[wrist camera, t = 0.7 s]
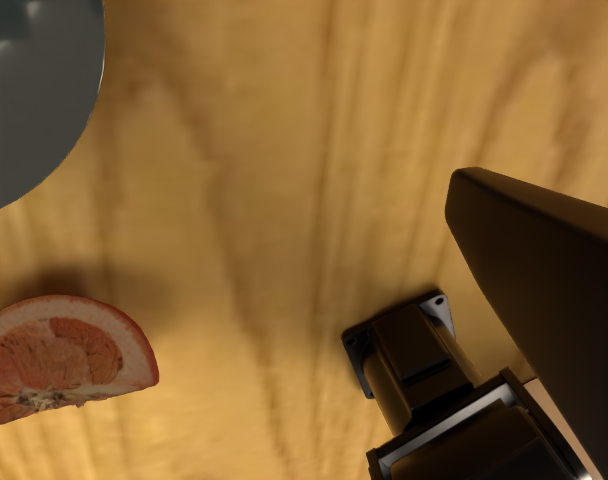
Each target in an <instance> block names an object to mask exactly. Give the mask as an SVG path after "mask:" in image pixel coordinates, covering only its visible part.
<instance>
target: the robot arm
mask: <svg viewBox="0 0 608 480" xmlns="http://www.w3.org/2000/svg"><path fill="white" fill-rule="evenodd" d="M445 218H446V222H447V224H448V226H449V228H450V230H451V232H452V234H453V236H454V238H455V240H456V242H457V244H458V246H459V248H460V250H461V252H462V254H463V256H464V258H465V260H466V262H467V264H468V266H469V268H470V270H471V272H472V274H473V276H474V278H475V280H476V282H477V284H478V286H479V287H480V289H481V291H482V292H483V294H484V296H485V297H486V299H487V300H488V302H489V303H490V305H491V307H492V308H493V310H494V311H495V313H496V314H497V316H498V317H499V319H500V320H501V322H502V324H503V325H504V327H505V328H506V330H507V331H508V333H509V334H510V336H511V337H512V339H513V341H514V342H515V344H516V345H517V347H518V348H519V350H520V351H521V353H522V354H523V356H524V358H525V359H526V361H527V362H528V364H529V365H530V367H531V368H532V370H533V371H534V373H535V375H536V376H537V378H538V379H539V381H540V382H541V384H542V385H543V387H544V388H545V390H546V392H547V393H548V395H549V396H550V398H551V399H552V401H553V402H554V404H555V405H556V407H557V409H558V410H559V412H560V413H561V415H562V416H563V418H564V419H565V421H566V422H567V424H568V426H569V427H570V429H571V430H572V432H573V433H574V435H575V436H576V438H577V439H578V441H579V443H580V444H581V446H582V447H583V449H584V450H585V452H586V453H587V455H588V456H589V458H590V460H591V461H592V463H593V464H594V466H595V467H596V469H597V470H598V472H599V473H600V475H601V477H602V478H603V480H608V208H605V207H602V206H599V205H596V204H592V203H589V202H586V201H583V200H580V199H577V198H574V197H571V196H567V195H564V194H561V193H558V192H555V191H552V190H549V189H546V188H542V187H539V186H536V185H533V184H530V183H527V182H524V181H520V180H517V179H514V178H511V177H508V176H505V175H502V174H499V173H495V172H492V171H489V170H486V169H483V168H480V167H468V168H461V169H457V170H455V171H454V172H453V173H452V175H451V179H450V184H449V189H448V194H447V200H446V205H445ZM349 339H350V340H349ZM341 341H342V343H343V345H344V348H345V350H346V352H347V355H348V357H349V359H350V362H351V364H352V366H353V369H354V371H355V373H356V375H357V378H358V380H359V382H360V385H361V387H362V389H363V392H364V394H365V396H366V398H368V399H373V398H375V399H376V401H377V403H378V405H379V407H380V409H381V411H382V413H383V415H384V417H385V420H386V422H387V424H388V426H389V428H390V430H391V432H392V434H393V436H394V438H393V439H391V440H389V441H388V442H386V443H385V444H383V445H381V446H380V447H378V448H373V449H371V450H370V451H368V452H366V456H367V459H368V463H369V466H370V467H369V468H368V470H369V473H370V476H371V480H592V478H591V476H590V474H589V473H588V471H587V469H586V468H585V466H584V465H583V463H582V462H581V460H580V459H579V457H578V456H577V454H576V453H575V451H574V450H573V449H572V447H571V446H570V444H569V443H568V442H567V440H566V439H565V437H564V436H563V435H562V433H561V432H560V431H559V429H558V428H557V427H556V425H555V424H554V423H553V421H552V420H551V419H550V418H549V416H548V415H547V414H546V413H545V411H544V410H543V409H542V408H541V407H540V405H539V404H538V403H537V402H536V400H535V399H534V398H533V397H532V396H531V394H530V393H529V392H528V391H527V389H526V388H525V387H524V386H523V385H522V383H521V382H520V381H519V380H518V378H517V377H516V376H515V375H514V373H513V372H512V371H511V370H510V369H509V367H508V366H507V367H505V368H504V369H502V370H501V371H499V374H497V375H496V376H494V377H493V378H491V379H489V380H488V381H486V382H485V381H484V380H483V378H482V377H481V376H480V374H479V373H478V371H477V370H476V368H475V367H474V365H473V364H472V363H471V361H470V360H469V358H468V357H467V355H466V354H465V352H464V351H463V350H462V348H461V347H460V345H459V344H458V342H457V341H456V337H455V332H454V328H453V323H452V318H451V314H450V309H449V305H448V300H447V297H446V295H445V294H444V293H443V291H441V290H437V291H434V292H432V293H430V294H427V295H425V296H423V297H421V298H419V299H416V300H414V301H412V302H410V303H408V304H405V305H403V306H401V307H399V308H397V309H395V310H392V311H390V312H388V313H386V314H384V315H381V316H379V317H377V318H375V319H373V320H371V321H368V322H366V323H364V324H362V325H360V326H357V327H355V328H353V329H351V330H349V331H347V332H345V333H344V334H343V335H342V337H341Z"/></svg>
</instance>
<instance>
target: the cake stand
mask: <svg viewBox="0 0 608 480" xmlns="http://www.w3.org/2000/svg"><path fill="white" fill-rule="evenodd" d="M105 51H106V21H105V5H104V0H0V209H1V208H3V207H5V206H6V205H8V204H10V203H12V202H14V201H16V200H18V199H19V198H21V197H22V196H24V195H25V194H27V193H28V192H29V191H31V190H32V189H34V188H35V187H37V186H38V185H39V184H41V183H42V182H43V181H44V180H45V179H46V178H47V177H48V176H49V175H50V174H51V173H52V172H53V171H54V170H56V169H57V168H58V167H59V166H60V164H61V163H62V162H63V160H64V159H65V158H66V157H67V155H68V154H69V153H70V152H71V150H72V149H73V148H74V147H75V145H76V143H77V142H78V140H79V138H80V136H81V135H82V133H83V131H84V129H85V128H86V126H87V124H88V122H89V120H90V117H91V114H92V112H93V109H94V107H95V104H96V101H97V99H98V95H99V91H100V86H101V82H102V77H103V73H104V65H105Z"/></svg>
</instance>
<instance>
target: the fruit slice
mask: <svg viewBox="0 0 608 480" xmlns="http://www.w3.org/2000/svg"><path fill="white" fill-rule="evenodd" d="M158 382H159V371H158V366H157V362H156V358H155V355H154V352H153V350H152V348H151V346H150V344H149V341H148V340H147V338H146V336H145V335H144V333H143V331H142V329H141V328H140V327H139V325H138V324H137V323H136V322H134V321H133V320H132V319H131V318H130V317H129V316H128V315H126V314H125V313H124V312H122V311H121V310H119V309H117V308H116V307H113V306H111V305H109V304H106V303H103V302H100V301H97V300H93V299H90V298H86V297H81V296H71V295H58V294H51V295H43V296H38V297H34V298H30V299H26V300H22V301H20V302H18V303H16V304H13V305H10V306H8V307H6V308H4V309H2V310H0V425H1V424H6V423H8V422H11V421H14V420H17V419H20V418H24V417H27V416H30V415H33V414H36V413H38V412H41V411H46V410H51V409H58V408H61V407H64V406H67V405H72V406H73V405H76V406H77V407H78V408H79V407H82V406H84V403H85V402H86V401H101V400H105V399H107V398H111V397H114V396H119V395H123V394H127V393H131V392H135V391H140V390H143V389H146V388H148V387H152V386H155V385H156V384H157V383H158Z"/></svg>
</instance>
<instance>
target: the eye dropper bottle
mask: <svg viewBox="0 0 608 480" xmlns="http://www.w3.org/2000/svg"><path fill="white" fill-rule="evenodd" d="M523 386H524V387H525V388H526V389H527V391H528V392H529V393H530V394H531V396H532V397H533V398H534V399H535V400H536V402H537V403H538V404H539V405H540V407H541V408H542V409H543V410H544V411H545V413H546V414H547V415H548V416H549V418H550V419H551V420H552V421H553V423H554V424H555V425H556V427H557V428H558V429H559V431H560V432H561V433H562V435H563V436H564V437H565V439H566V440H567V442H568V443H569V444H570V446H571V447H572V449H573V450H574V451H575V453H576V454H577V456H578V457H579V459H580V460H581V462H582V463H583V465H584V466H585V468H586V469H587V471H588V473H589V474H590V476H591V478H592V480H603V478H602V477H601V475H600V473H599V472H598V470H597V469H596V467H595V466H594V464H593V463H592V461H591V460H590V458H589V456H588V455H587V453H586V452H585V450H584V449H583V447H582V446H581V444H580V443H579V441H578V439H577V438H576V436H575V435H574V433H573V432H572V430H571V429H570V427H569V426H568V424H567V422H566V421H565V419H564V418H563V416H562V415H561V413H560V412H559V410H558V409H557V407H556V405H555V404H554V402H553V401H552V399H551V398H550V396H549V395H548V393H547V392H546V390H545V388H544V387H543V385H542V384H541V382H540V381H539V379H538V378H536V379H534V380H532V381H530V382H528V383H526V384H524V385H523Z"/></svg>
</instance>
